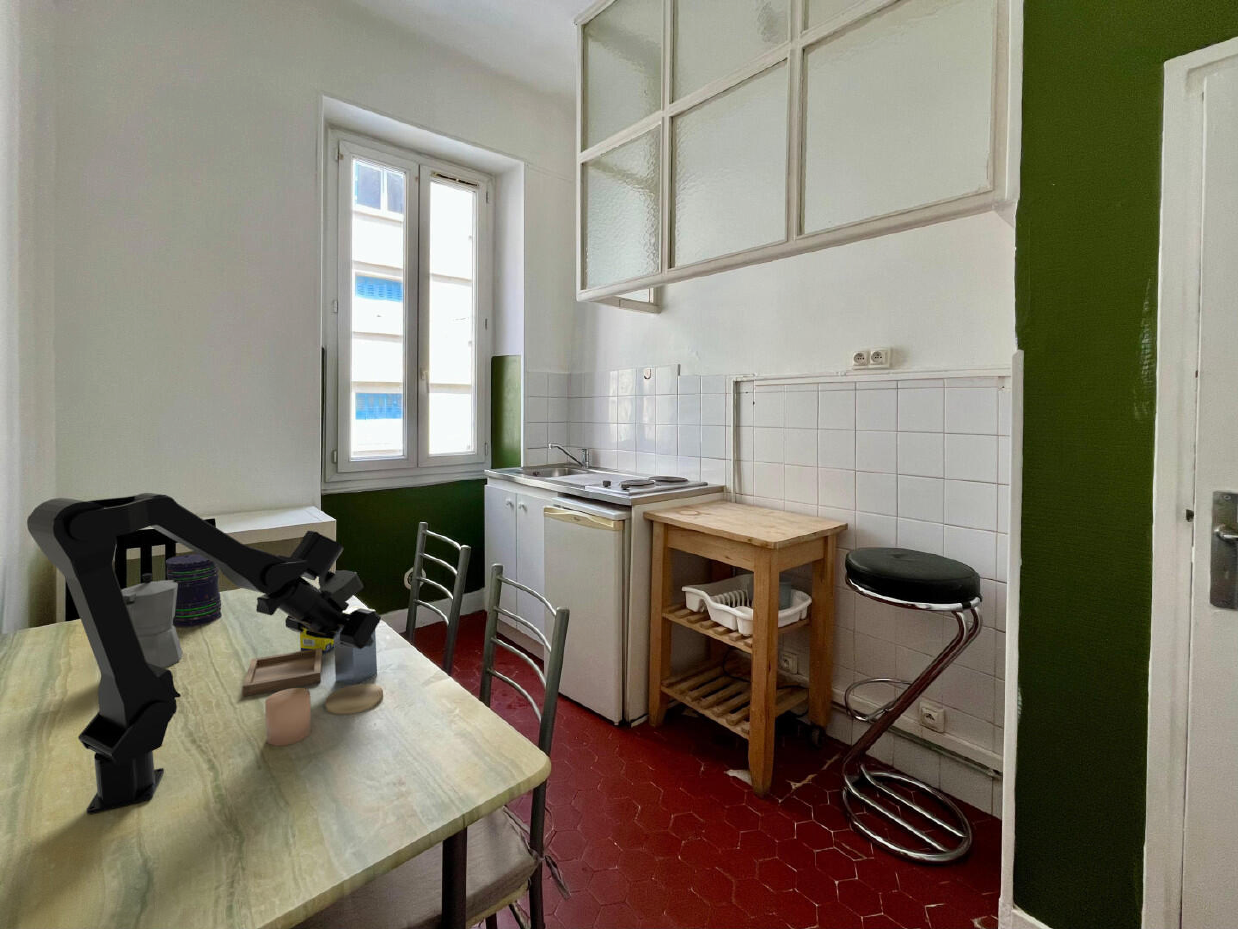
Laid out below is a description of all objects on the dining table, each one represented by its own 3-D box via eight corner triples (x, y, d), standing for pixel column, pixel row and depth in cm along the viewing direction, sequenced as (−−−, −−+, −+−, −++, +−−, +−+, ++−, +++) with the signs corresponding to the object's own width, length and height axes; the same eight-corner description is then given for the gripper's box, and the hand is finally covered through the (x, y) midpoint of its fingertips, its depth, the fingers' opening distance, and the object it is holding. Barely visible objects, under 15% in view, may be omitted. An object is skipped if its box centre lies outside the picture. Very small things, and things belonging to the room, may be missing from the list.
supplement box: (325, 654, 118) (322, 602, 116) (299, 651, 119) (296, 600, 118) (344, 642, 123) (342, 593, 122) (320, 640, 125) (317, 591, 123)
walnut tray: (320, 682, 106) (320, 672, 106) (243, 696, 101) (242, 686, 100) (322, 656, 117) (321, 647, 116) (252, 668, 111) (251, 659, 111)
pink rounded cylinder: (312, 739, 88) (310, 701, 87) (266, 750, 85) (264, 711, 84) (310, 720, 93) (309, 684, 93) (267, 730, 90) (265, 693, 90)
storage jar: (230, 617, 138) (226, 556, 136) (181, 631, 129) (176, 565, 128) (210, 609, 143) (206, 550, 141) (163, 622, 135) (157, 559, 133)
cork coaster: (385, 707, 97) (384, 702, 97) (325, 719, 93) (325, 714, 93) (381, 683, 105) (381, 679, 105) (326, 694, 101) (325, 690, 101)
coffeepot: (152, 649, 120) (145, 564, 118) (200, 647, 120) (194, 563, 119) (92, 685, 104) (83, 588, 102) (148, 683, 105) (140, 587, 103)
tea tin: (354, 687, 104) (351, 619, 103) (334, 680, 106) (331, 614, 105) (378, 674, 109) (375, 610, 107) (358, 669, 111) (355, 605, 110)
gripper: (369, 567, 98) (420, 609, 109) (297, 554, 106) (351, 595, 117) (330, 628, 91) (388, 667, 102) (256, 609, 99) (318, 647, 110)
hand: (361, 641), depth 108 cm, fingers closed on tea tin, 5 cm apart
